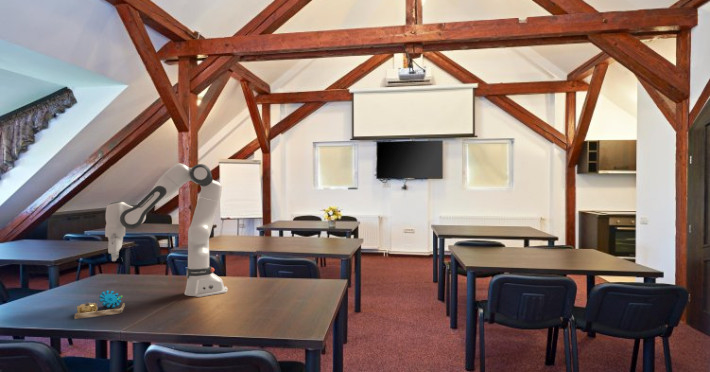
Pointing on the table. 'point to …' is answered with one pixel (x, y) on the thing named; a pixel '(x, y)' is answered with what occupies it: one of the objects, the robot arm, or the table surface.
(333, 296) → the table surface
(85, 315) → the gear bench
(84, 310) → the gear
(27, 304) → the table surface
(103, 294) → the gear
